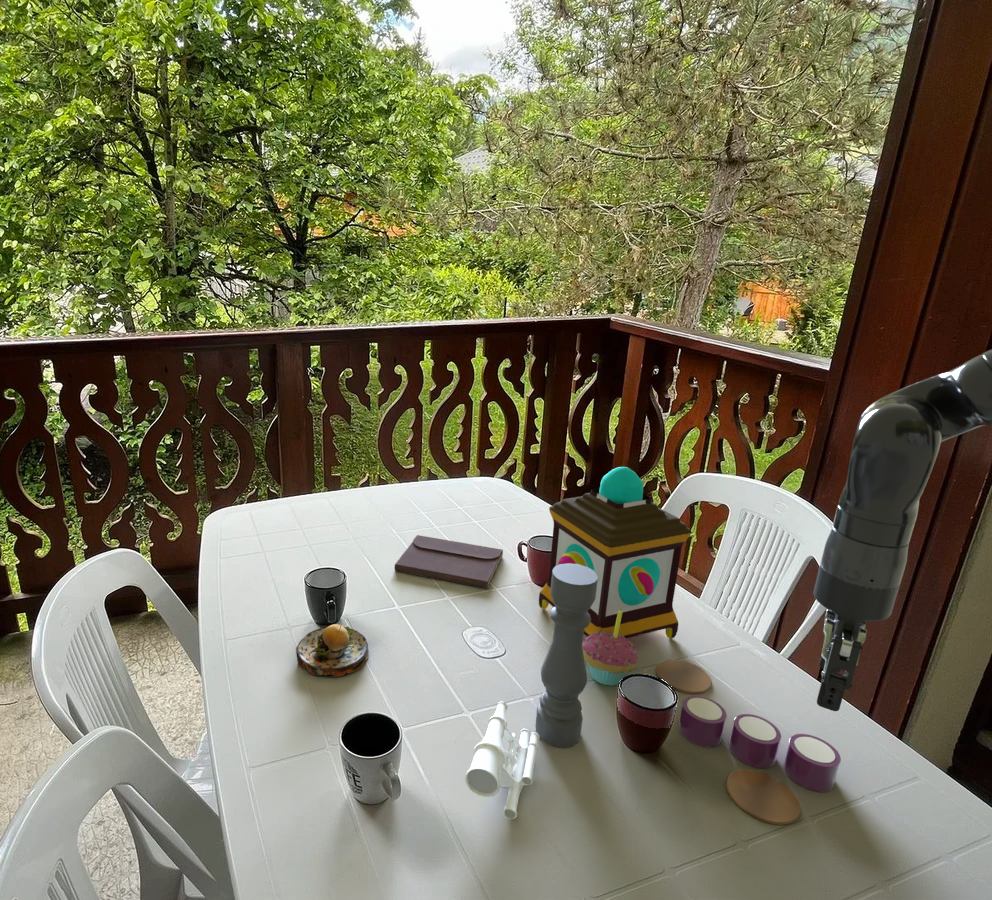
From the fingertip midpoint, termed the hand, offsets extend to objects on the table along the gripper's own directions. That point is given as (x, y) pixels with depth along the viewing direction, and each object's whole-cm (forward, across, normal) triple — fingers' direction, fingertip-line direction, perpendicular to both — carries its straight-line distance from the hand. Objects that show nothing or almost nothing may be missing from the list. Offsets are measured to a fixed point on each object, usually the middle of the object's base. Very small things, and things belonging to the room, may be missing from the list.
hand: (828, 687), depth 78 cm
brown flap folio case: (+15, +24, +66) cm, 72 cm away
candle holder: (+14, -10, +29) cm, 34 cm away
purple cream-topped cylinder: (+14, +1, +13) cm, 19 cm away
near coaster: (+14, -7, +4) cm, 16 cm away
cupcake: (+14, +6, +27) cm, 31 cm away
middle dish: (+14, +1, +6) cm, 15 cm away
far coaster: (+14, +12, +17) cm, 25 cm away
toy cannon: (+14, -21, +32) cm, 41 cm away
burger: (+15, -15, +66) cm, 69 cm away
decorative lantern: (+14, +21, +32) cm, 41 cm away
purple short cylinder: (+14, +1, 0) cm, 14 cm away
